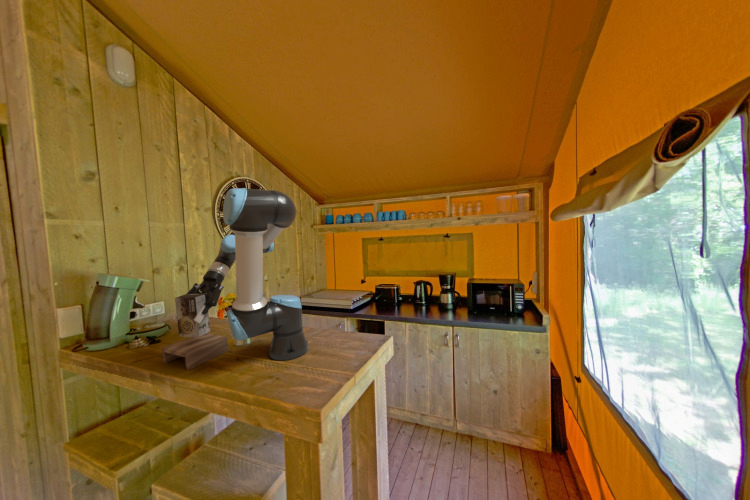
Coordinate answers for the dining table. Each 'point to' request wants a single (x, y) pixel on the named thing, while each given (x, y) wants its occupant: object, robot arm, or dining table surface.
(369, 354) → the dining table surface
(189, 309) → the coffee box
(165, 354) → the walnut shelf
